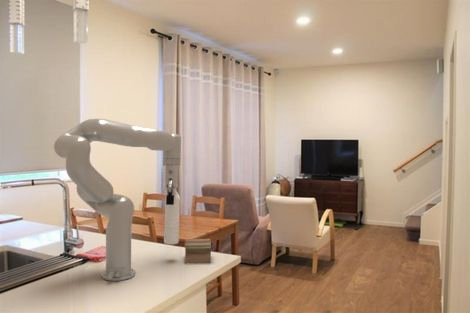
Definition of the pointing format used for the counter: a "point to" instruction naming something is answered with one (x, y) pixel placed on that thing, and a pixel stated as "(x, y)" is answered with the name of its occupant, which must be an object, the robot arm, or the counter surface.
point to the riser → (198, 251)
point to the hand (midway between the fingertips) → (170, 202)
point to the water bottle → (172, 220)
